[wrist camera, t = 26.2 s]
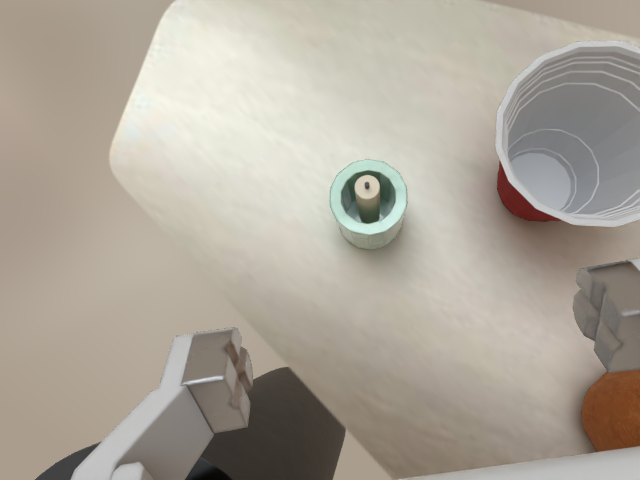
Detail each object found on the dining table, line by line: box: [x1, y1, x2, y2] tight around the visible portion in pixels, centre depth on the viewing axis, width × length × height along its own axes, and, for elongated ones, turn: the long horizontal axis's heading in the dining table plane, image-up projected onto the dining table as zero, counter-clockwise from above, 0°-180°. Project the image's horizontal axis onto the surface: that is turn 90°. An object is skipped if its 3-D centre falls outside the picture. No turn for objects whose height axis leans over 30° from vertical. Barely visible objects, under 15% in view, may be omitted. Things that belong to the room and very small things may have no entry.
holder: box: [330, 159, 407, 249], centre depth 36 cm, size 5×5×7 cm
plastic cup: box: [495, 41, 640, 227], centre depth 32 cm, size 11×11×12 cm
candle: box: [355, 175, 380, 224], centre depth 34 cm, size 2×2×9 cm
